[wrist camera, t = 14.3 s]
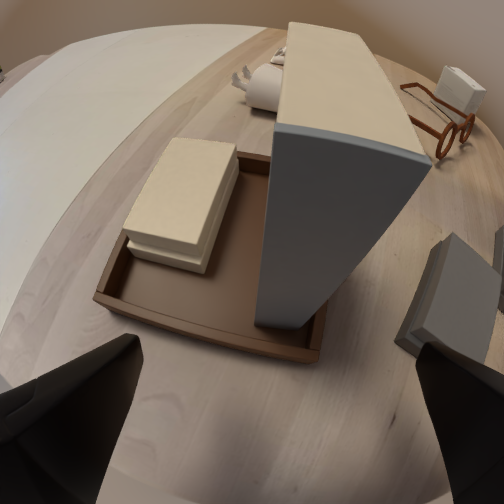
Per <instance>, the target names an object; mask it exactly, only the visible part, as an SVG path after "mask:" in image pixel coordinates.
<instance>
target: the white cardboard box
mask: <svg viewBox="0 0 504 504" xmlns="http://www.w3.org/2000/svg"><path fill="white" fill-rule="evenodd" d="M486 92H487V91H486V90H485V89H484V88H483V87H481V86H480V85H479V84H478V83H477V82H475V81H474V80H473V79H472V78H471V77H469V76H468V75H467V74H465V73H464V72H463V71H462V70H460V69H459V68H454V67H449V66H444V69H443V72H442V74H441V77H440V79H439V82H438V84H437V87H436V89H435V91H434V94H433V95H434V96H435V97H437V98H439V99H440V100H442V101H444V102H446V103H448V104H449V105H451V106H453V107H454V108H456V109H458V110H459V111H461V112H463V113H464V114H466V115H467V116H468V115H469V114H470V113H473V114H475V113H476V111H477V109H478V107H479V105H480V104H481V102H482V100H483V98H484V96H485V94H486ZM431 102H432V103H433V104H434V105H436V106H437V107H438V108H439V109H440V110H442V111H443V112H444V113H445V114H446V115H447V116H448V117H450V118H451V119H452V120H453V121H454V122H455V123H456V124H457V125H459V124H461V123H463V124H464V122H465V120H466V119H464V118H463V117H461V116H460V115H458V114H456V113H455V112H453V111H451V110H450V109H448V108H446V107H445V106H443V105H441V104H439V103H438V102H436V101H434V100H433V99H432V98H431ZM469 123H470V122H469Z"/></svg>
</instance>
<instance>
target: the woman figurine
mask: <svg viewBox="0 0 504 504" xmlns="http://www.w3.org/2000/svg"><path fill="white" fill-rule="evenodd" d="M242 72H243V77H244V78H246V79H248V80H249V84H248V83H244V82H241V80H240V79H239V77H238V76H237V74H236V73H237V71H236V72H235V73H234V74H232V81H233V82H232V85H233V86H235V87H237V88H240V89H241V90H243V91H245V92H246V94H245V98H246V104H247V106H250V107H254V108H259V109H263V110H268V111H272V112H277V113H278V105H279V98H280V90H281V82H282V74H283V70H281V69H279V68H277V67H274V66H272V65H270V64H267V63H265V64H263V65H261V66H260V67H259V68H257V69H256V70H255V72H254V73H253V75H252V74H250V72H249V70H248V69H247V65H245V66H244V67H243V70H242Z"/></svg>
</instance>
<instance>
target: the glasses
mask: <svg viewBox="0 0 504 504" xmlns="http://www.w3.org/2000/svg"><path fill="white" fill-rule="evenodd" d="M417 86H418V87H419V88H421V89H422V90H424V91H425V92H426V93H427V94H428V95H429V96H430V97H431V98H432V99H433V100H434V101H436V102H438V103H439V104H441V105H443V106H445V107H446V108H448V109H450V110H451V111H453V112H455V113H456V114H458V115H460V116H461V117H463V118H464V119H466V120H465V122H464V124H463V123H461V124H459V125H458V126H457V124H456V123H455V122H453V121H452V122H450V123H449V124H448V125H447V126H446V128H445V129H444V131H443V133H442V134H440V133H439V132H437V131H436V130H434V129H432V128H431V127H429V126H428V125H426V124H424V123H422V122H421V121H419V120H417V119H416V118H414V117H412V116H410V115H408V116H409V118H410V120H411V122H412V123H413V124H414V125H416V126H418V127H419V128H421V129H423V130H424V131H426V132H428V133H429V134H431V135H432V136H434V137H436V138H437V139H439V142H438V145H437V149H436V158H437V159H439V160H441V159H443V158H444V157H445V156H446V154H447V153H448V152H449V150H450V148H451V146H452V144H453V141H454V139H455V136H456V134H457V133H458V132H459V131H460V130H462V131H461V135H460V139H459V141H460V143H462V144H463V143H465V141H466V140H467V139H468V137H469V135H470V133H471V130H472V128H473V125H474V121H475V114H473V113H470V114H469V115H468V116H467V115H466V114H464V113H463V112H461V111H459V110H458V109H456V108H454V107H453V106H451V105H449V104H448V103H446V102H444V101H442V100H440V99H439V98H437V97H435V96H434V95H433V94H432V93H431V92H430V91H429V90H428V89H427V88H425V87H424V86H422V85H420V84H419V83H417V82H416V83H410V84H404V85H400V88H401V89H404V88H411V87H417ZM469 122H471V124H470V127H469V129H468V132H467V134H466V135H465V137H464V133H465V130H466V127H467V125H468V123H469ZM452 128H453V131H452V135H451V138H450V141H449V143H448V145H447V147H446V148H445V150H444V151H443V152H442V153H441V148H442V145H443V142H444V140H445V138H446V136H447V134H448V132H449V131H450V130H451V129H452ZM463 137H464V138H463Z"/></svg>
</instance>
